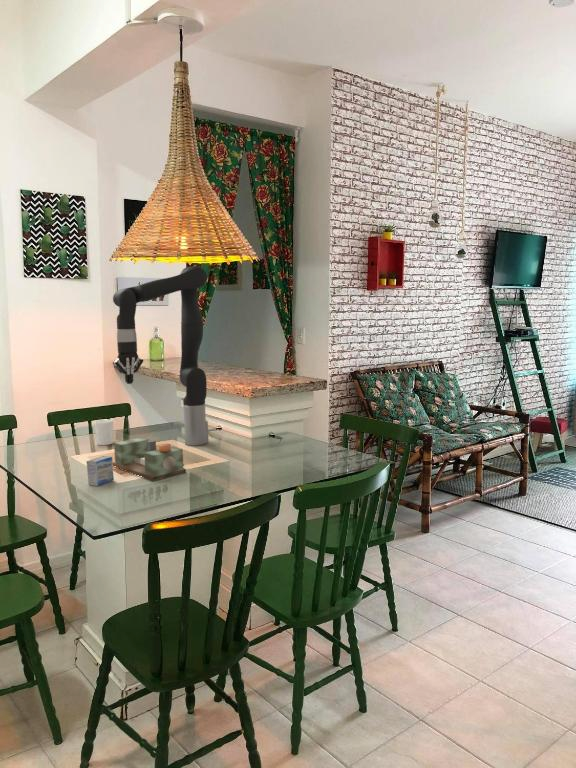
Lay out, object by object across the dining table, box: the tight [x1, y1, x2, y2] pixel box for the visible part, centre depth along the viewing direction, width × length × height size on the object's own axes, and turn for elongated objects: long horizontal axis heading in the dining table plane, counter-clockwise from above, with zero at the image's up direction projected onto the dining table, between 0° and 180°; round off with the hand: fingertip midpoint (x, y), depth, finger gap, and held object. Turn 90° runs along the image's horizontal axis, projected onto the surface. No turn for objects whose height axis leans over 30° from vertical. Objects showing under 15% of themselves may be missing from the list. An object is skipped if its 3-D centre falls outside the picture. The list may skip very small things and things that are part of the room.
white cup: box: [94, 419, 114, 446], centre depth 278 cm, size 8×8×10 cm
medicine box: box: [86, 455, 115, 487], centre depth 220 cm, size 8×4×9 cm, turn 151°
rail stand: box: [113, 437, 187, 482], centre depth 235 cm, size 14×28×9 cm, turn 43°
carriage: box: [140, 439, 157, 465], centre depth 231 cm, size 8×6×9 cm
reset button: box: [158, 443, 172, 452], centre depth 225 cm, size 4×4×2 cm
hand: (129, 383), depth 255 cm, fingers closed
